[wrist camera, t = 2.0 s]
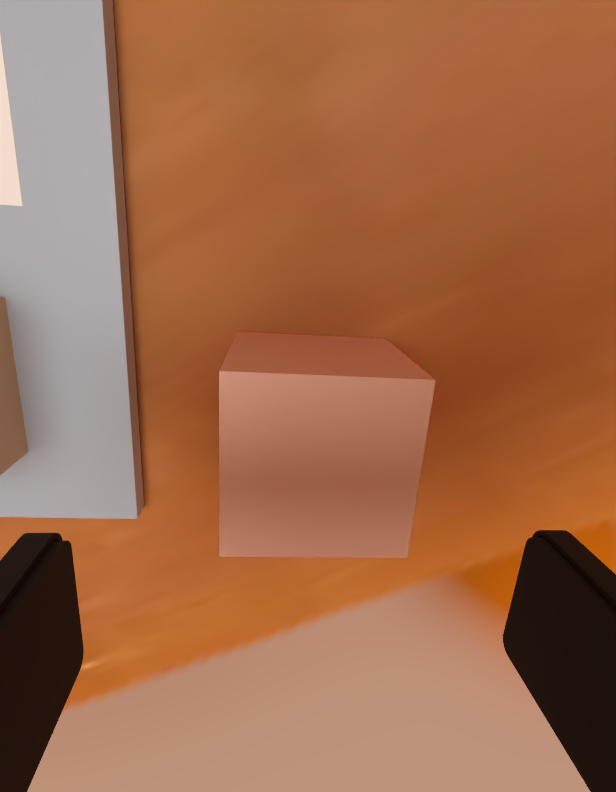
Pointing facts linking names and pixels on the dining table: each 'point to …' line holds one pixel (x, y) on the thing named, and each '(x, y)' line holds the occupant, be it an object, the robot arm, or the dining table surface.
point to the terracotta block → (319, 446)
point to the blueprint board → (64, 269)
